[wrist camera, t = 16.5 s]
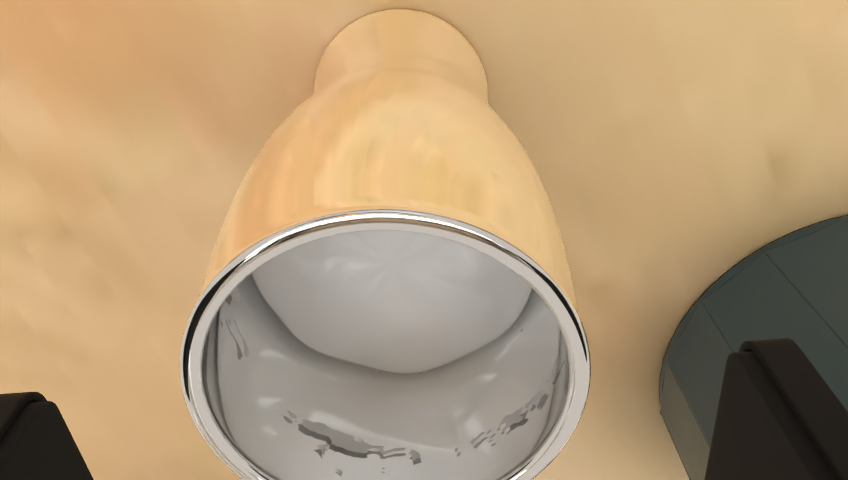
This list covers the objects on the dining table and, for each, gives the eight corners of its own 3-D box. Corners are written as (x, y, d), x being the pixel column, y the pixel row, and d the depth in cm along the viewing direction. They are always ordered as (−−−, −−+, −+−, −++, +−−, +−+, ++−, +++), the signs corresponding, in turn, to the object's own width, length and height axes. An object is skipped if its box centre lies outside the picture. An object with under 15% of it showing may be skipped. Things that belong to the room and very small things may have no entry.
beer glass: (351, 211, 26) (290, 571, 13) (265, 40, 23) (70, 293, 10) (525, 148, 25) (647, 475, 12) (460, -41, 22) (531, 124, 9)
